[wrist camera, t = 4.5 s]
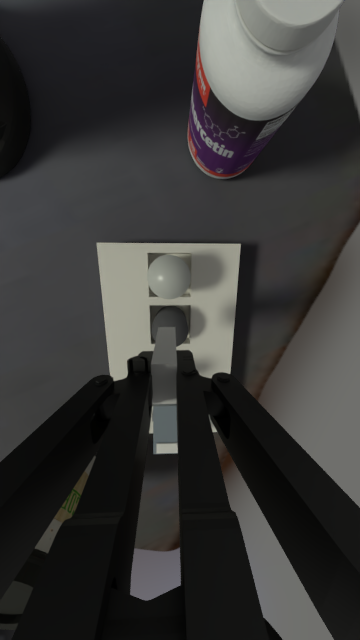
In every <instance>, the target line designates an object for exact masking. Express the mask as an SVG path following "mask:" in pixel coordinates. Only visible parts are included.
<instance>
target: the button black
mask: <svg viewBox="0 0 360 640" xmlns="http://www.w3.org/2000/svg"><path fill="white" fill-rule="evenodd" d="M158 327H175V332H176V347H177V346H179V345H181V344H182V343H183V342H184V341H185V340H186V338H187V336H188V332H189V329H188V324H187V320H186V316H185V314H184V312H183V311H182V310H181V309H180V308H178V307H176V306H165V307H163V308H161V309H160V310H159V311H158V312H157V314H156V316H155V319H154V322H153V325H152V330H151V331H152V336H153V338H154V340H155V341H156V337H157V332H158Z"/></svg>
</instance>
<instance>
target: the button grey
mask: <svg viewBox="0 0 360 640" xmlns="http://www.w3.org/2000/svg"><path fill="white" fill-rule="evenodd" d="M147 280H148V284H149V287H150V288H151V290H152V291H153V292H154V293H155V294H156V295H157V296H159V297H161V298H164V299H175V298H178V297H180V296H181V295H183V294H184V293H185V292H186V291H187V289H188V287H189V285H190V281H191V273H190V270H189V267H188V265H187V264H186V263H185V262H184V261H183V260H182V259H181V258H179V257H177V256H174V255H163V256H160V257H158V258H157V259H155V260H154V261H153V262H152V264H151V265H150V267H149V269H148V274H147Z"/></svg>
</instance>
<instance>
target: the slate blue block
mask: <svg viewBox="0 0 360 640" xmlns="http://www.w3.org/2000/svg"><path fill="white" fill-rule="evenodd" d="M153 454H178V447H177V404H154V405H153Z"/></svg>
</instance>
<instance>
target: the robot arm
mask: <svg viewBox="0 0 360 640" xmlns="http://www.w3.org/2000/svg"><path fill="white" fill-rule="evenodd" d="M29 131H30V104H29V98H28V93H27V89H26V85H25V82H24V79H23V76H22V74H21V71H20V69H19V67H18V65H17V63H16V61H15V59H14V57H13V55H12V53H11V52H10V50H9V49H8V47H7V45H6V44H5V43H4V41H3V40H2V39H1V37H0V177H2V176H3V175H5V174H6V173H8V172H9V171H10V170H11V169H12V168H13V167H14V166H15V165H16V164H17V162H18V161H19V159H20V158H21V156H22V154H23V152H24V150H25V147H26V145H27V141H28V137H29ZM127 369H128V375H127V377H126V378H124V379H121V380H117V381H114V380H113V377H112V376H109V375H100V376H97V377H94V378H93V379H91V380H90V381H89V382H88V383H87V384H86V385H84V386H83V387H82V388H81V389H80V390H79V391H78V392H77V393H76V394H75V395H73V396H72V397H71V398H70V399H69V400H68V401H67V402H66V403H65V404H64V405H63V406H61V407H60V408H59V409H58V410H57V411H56V412H55V413H54V414H53V415H52V416H50V417H49V418H48V419H47V420H46V421H45V422H44V423H43V424H42V425H41V426H39V427H38V428H37V429H36V430H35V431H34V432H33V433H32V434H31V435H30V436H29V437H27V438H26V439H25V440H24V441H23V442H22V443H21V444H20V445H19V446H18V447H16V448H15V449H14V450H13V451H12V452H11V453H10V454H9V455H8V456H7V457H6V458H4V459H3V460H2V461H1V462H0V600H1V599H2V597H3V596H4V594H5V593H6V591H7V590H8V588H9V587H10V585H11V584H12V582H13V580H14V579H15V577H16V576H17V574H18V573H19V571H20V570H21V568H22V567H23V565H24V564H25V562H26V560H27V559H28V557H29V556H30V554H31V553H32V551H33V550H34V548H35V547H36V545H37V544H38V542H39V540H40V539H41V537H42V536H43V534H44V533H45V531H46V530H47V528H48V527H49V525H50V524H51V522H52V520H53V519H54V517H55V516H56V514H57V513H58V511H59V510H60V508H61V507H62V505H63V504H64V502H65V500H66V499H67V497H68V496H69V494H70V493H71V491H72V490H73V488H74V487H75V485H76V484H77V482H78V480H79V479H80V477H81V476H82V474H83V473H84V471H85V470H86V468H87V467H88V465H89V464H90V462H91V460H92V459H93V457H94V456H95V454H96V453H97V451H98V453H97V455H96V458H95V460H94V463H93V466H92V468H91V471H90V473H89V476H88V479H87V481H86V484H85V486H84V489H83V492H82V494H81V497H80V499H79V502H78V505H77V507H76V510H75V512H74V514H73V516H72V517H71V518H69V519H66V520H65V521H64V522H63V523H62V525H61V526H60V528H59V530H58V532H57V534H56V536H55V538H54V540H53V542H52V545H51V547H50V550H49V552H48V554H47V557H46V559H45V561H44V564H43V566H42V569H41V571H40V573H39V576H38V578H37V580H36V583H35V585H34V588H33V590H32V592H31V595H30V597H29V599H28V602H27V604H26V607H25V609H24V611H23V614H22V616H21V618H20V621H19V623H18V625H17V628H16V630H15V633H14V635H13V637H12V640H282V638H281V637H280V636H279V634H278V633H277V632H276V631H275V630H274V628H272V626H271V625H270V624H269V623H268V622H267V620H266V619H265V618H263V615H262V611H261V607H260V603H259V599H258V595H257V591H256V587H255V583H254V579H253V575H252V571H251V567H250V563H249V559H248V555H247V552H246V547H245V543H244V540H243V536H242V532H241V528H240V525H239V521H238V518H237V516H236V513H235V512H234V511H232V510H231V508H230V505H229V501H228V496H227V493H226V488H225V484H224V479H223V475H222V471H221V466H220V462H219V458H218V453H217V449H216V445H215V440H214V436H213V432H212V427H211V423H210V419H211V421H212V423H213V425H214V427H215V428H216V430H217V432H218V434H219V435H220V437H221V439H222V441H223V443H224V444H225V446H226V448H227V450H228V452H229V453H230V455H231V457H232V459H233V461H234V462H235V464H236V466H237V468H238V470H239V471H240V473H241V475H242V477H243V479H244V480H245V482H246V484H247V486H248V488H249V489H250V491H251V493H252V495H253V496H254V498H255V500H256V502H257V503H258V505H259V507H260V509H261V511H262V513H263V514H264V516H265V518H266V520H267V522H268V523H269V525H270V527H271V529H272V531H273V532H274V534H275V536H276V538H277V540H278V541H279V543H280V545H281V547H282V549H283V550H284V552H285V554H286V556H287V558H288V559H289V561H290V563H291V565H292V566H293V568H294V570H295V572H296V574H297V575H298V577H299V579H300V581H301V583H302V584H303V586H304V588H305V590H306V592H307V593H308V595H309V597H310V599H311V601H312V602H313V604H314V606H315V608H316V609H317V611H318V613H319V615H320V617H321V618H322V620H323V622H324V623H325V625H326V627H327V628H328V630H329V632H330V633H331V635H332V637H333V638H334V640H360V508H359V506H358V505H356V504H355V502H354V501H352V499H351V498H350V497H349V496H348V495H347V494H346V493H345V492H344V491H343V490H342V489H341V488H340V487H339V486H338V485H337V484H336V483H335V482H334V481H333V479H332V478H331V477H330V476H329V475H328V474H327V473H326V472H325V471H324V470H323V469H322V468H321V467H320V466H319V465H318V464H317V463H316V462H315V461H314V460H313V459H312V458H311V457H310V455H309V454H307V452H306V451H305V450H304V449H303V448H302V447H301V446H300V445H299V444H298V443H297V442H296V441H295V440H294V439H293V438H292V437H291V436H290V435H289V434H288V433H287V432H286V431H285V429H284V428H283V427H282V426H281V425H280V424H279V423H278V422H277V421H276V420H275V419H274V418H273V417H272V416H271V415H270V414H269V413H268V412H267V411H266V410H265V409H264V408H263V407H262V406H261V405H260V403H259V402H258V401H257V400H256V399H255V398H254V397H253V396H252V395H251V394H250V393H249V392H248V391H247V390H246V389H245V388H244V387H243V386H242V385H241V384H240V383H239V382H238V381H237V380H236V378H235V377H233V376H232V375H231V374H228V373H224V372H218V373H215V374H214V375H212V378H207V377H203V376H201V375H199V372H198V370H196V367H195V362H194V358H193V353H192V352H191V351H190V350H176V332H175V327H158V332H157V337H156V342H155V347H154V351H142V352H141V353H139V354H138V356H134V357H131V358H130V359H128V360H127ZM152 403H153V404H177V447H178V485H179V524H180V562H181V586H178V587H177V588H174V589H172V590H170V591H168V592H166V593H164V594H162V595H160V596H158V597H156V598H154V599H152V600H148V601H145V600H141V599H139V598H136V597H134V596H131V595H130V585H131V584H130V583H131V570H132V562H133V554H134V546H135V538H136V531H137V523H138V515H139V508H140V500H141V492H142V484H143V477H144V469H145V461H146V453H147V446H148V438H149V430H150V423H151V415H152ZM209 416H210V419H209Z"/></svg>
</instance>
